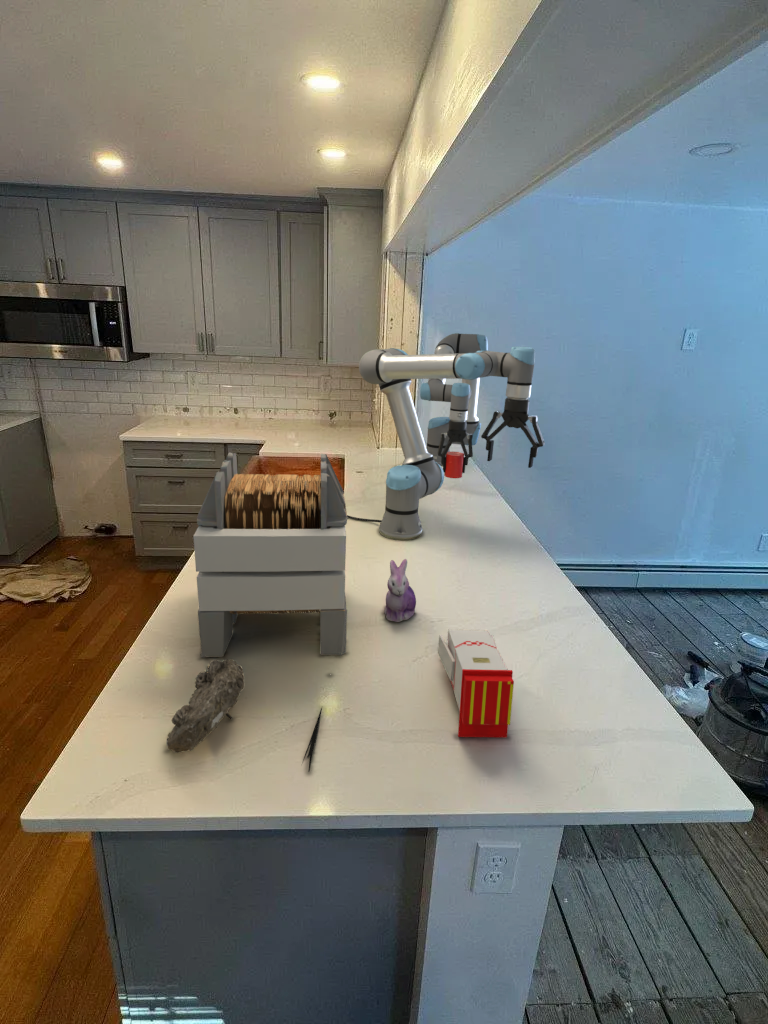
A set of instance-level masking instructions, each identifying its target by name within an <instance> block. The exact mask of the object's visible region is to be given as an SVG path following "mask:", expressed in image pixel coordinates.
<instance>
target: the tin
mask: <svg viewBox="0 0 768 1024" xmlns="http://www.w3.org/2000/svg"><path fill="white" fill-rule="evenodd" d="M464 457H465V455H464V452H460V451H450V452H447V454H446V469H445V473H444V478H445V477H446V478H448V479H461V478H463V473H462V472H463V461H464Z"/></svg>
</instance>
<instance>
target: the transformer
mask: <svg viewBox="0 0 768 1024" xmlns="http://www.w3.org/2000/svg"><path fill="white" fill-rule="evenodd" d="M347 515H348V511H347V505H346V498H345V491H344V489H343V486H342V484H341V483H340V481H339V478H338V477H337V475H336V472H335V470H334V468H333V466H332V463H331V461H330V458H329V457H328V455H327V453H320V474H313V476H312V475H311V474H303V475H302V474H300V475H299V474H279V473H278V474H275V475H274V474H273V475H272V474H271V475H270V474H269V473H268V474H267V473H266V474H263V473H256V474H255V473H251V474H249V473H246V474H244V473H238V462H237V452H234V453H233V452H227V455H226V457H225V460H223V461H222V464H221V466H220V468H219V470H218V471H216V473H215V475H214V477H213V479H212V482H211V484H210V487H209V489H208V491H207V493H206V494H205V497H204V500H203V503H202V505H201V507H200V509H199V511H198V513H197V516H196V524H197V528H196V530H195V532H194V534H193V548H194V549H193V551H194V560H195V561H194V563H195V572H196V573H197V572H198V574H197V575H196V590H197V602H198V609H197V622H198V635H199V636H198V637H199V641H200V657H201V658H204V659H205V658H206V659H208V658H210V657H211V658H223V657H224V655H225V654H226V650H227V648H228V646H229V644H230V641H231V639H232V637H233V634H234V625H235V624H236V622H237V619H238V615H240V614H241V615H242V614H245V615H248V614H249V615H252V614H253V615H254V614H255V615H256V614H288V613H289V614H301V613H302V614H305V613H306V614H309V613H311V614H312V613H313V614H314V613H317V614H318V613H319V634H320V635H319V647H320V648H319V651H320V652H319V654H320V655H321V656H324V655H327V656H330V655H336V656H342V655H344V654H346V653H347V620H348V619H347V618H348V617H347V614H348V610H347V597H346V556H347V555H346V551H347V531H346V525H347V524H348V518H347Z"/></svg>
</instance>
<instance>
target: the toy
mask: <svg viewBox="0 0 768 1024" xmlns="http://www.w3.org/2000/svg"><path fill="white" fill-rule="evenodd" d="M446 640H447V643H446V641H445V639H444V636H443V635H442V634H439V637H438V646H437V656H438V657H439V659H440V661H441V663H442V666H443V668H444V670H445V672H446V674H447V677H448V679H449V681H450V684H451V687H452V690H453V693H454V697H455V701H456V705H457V708H458V711H459V714H458V715H459V716H458V730H457V731H458V732H457V737H458V738H508V731H509V726H510V725H511V717H512V707H513V697H514V696H513V695H514V684H515V680H514V679H513V673H514V671H513V670H512V669H508V667H507V665H506V662H505V661H504V659H503V658H502V655H501V653H500V651H499V649H498V647H497V643H496V639H495V637H494V635H493V634H491V632H490V631H489V629H467V628H466V629H465V628H463V629H461V628H460V629H459V628H448V630H447V639H446Z"/></svg>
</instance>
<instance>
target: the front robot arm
mask: <svg viewBox="0 0 768 1024" xmlns="http://www.w3.org/2000/svg"><path fill="white" fill-rule="evenodd" d="M535 365H536V350H535V348H534V347H529V346H528V347H527V346H512V347H511V348H510V352H500V351H491V350H488V351H487V350H486V351H477V352H476V353H460V354H458V353H457V354H434V353H427V354H408V353H407V352H406V351H404V350H403V349H401V348H395V347H390V348H381V349H379V348H378V349H370V350H368V351H366V352H365V353H364V354H363V355H362V356H361V358H360V360H359V363H358V371H359V374H360V376H361V379H363V380H364V381H365V382H367V383H369V384H371V385H378V387H379V390H380V392H381V393H382V394H384V395H385V396H386V399H387V402H388V407H389V409H390V413H391V416H392V419H393V420H392V421H393V423H394V427H395V430H396V433H397V437H398V440H399V444H400V446H401V447H400V448H401V451H402V454H403V457H404V460H403V462H402V464H401V465H400V464H398V465H393V466H392V467H391V468H389V469H388V471H387V473H386V479H385V504H384V505H385V507H384V508H385V509H384V513H383V515H382V519H373V518H371V519H370V518H362V517H357V516H356V517H355V516H351V515H348V514H347V519H350V520H353V521H354V520H355V521H362V522H370V523H379V525H378V533H379V534H380V535H381V536H382V537H385V538H387V539H389V540H395V541H410V540H415V539H418V538H420V537H421V536H422V535H423V525H422V520H421V518H420V515H419V507H420V506H419V505H420V500H421V499H423V498H426V497H427V496H430V495H433V494H434V493H436V492H437V491H439V490H440V489H441V487H442V486H443V484H444V481H445V476H444V472H443V466H442V465H439V464H438V463H437V462H435V461H434V458H433V455H432V454H430V453H428V452H427V449H426V447H427V444H426V441H425V442H424V440H425V438H424V435H423V431H422V428H421V424H420V422H419V418H418V414H417V411H416V407H415V404H414V400H413V397H412V393H411V390H410V386H411V384H412V383H413V382H412V380H428V379H446V380H449V379H451V380H452V379H453V380H454V379H455V380H457V379H459V380H462V379H466V380H473V379H476V378H480V379H481V378H486V377H497V378H498V377H500V378H507V379H506V389H505V397H506V398H504V406H503V407H504V408H503V412H501V411H499V410H495V411H493V415H492V418H491V420H490V421H489V423H488V424H487V426H486V427H485V429H484V431H483V432H482V434H481V435H480V437H481V439H484V440H485V441H486V442H485V451H487V459H486V461H487V462H491V461H492V460H493V455H494V454H493V453H494V443H495V440H493V439H494V438H495V437H496V436H497V435H498V434H499V433H500V432H501V431H502V430H504V429H505V427H508V428H513V429H514V428H515V429H520V430H521V431H522V432H523V433H524V435H525V436H526V438H527V440H528V441H529V443H530V444H531V445H532V446H531V447H530V450H529V458H528V465H527V468H528V469H529V468H530V469H531V468H533V466H534V465H533V464H534V458H537V457H538V453H539V448H543V447H544V446H545V444H546V443H545V439H544V436H543V433H542V431H541V428H540V425H539V416H538V415H529V408H530V398H531V393H532V385H533V375H534V370H535ZM500 418H502V419H503V422H502V423H501V424H500V425H499V426H498V427H496V428H495V430H493V432H492V433H490V432H491V431H492V429H493V428H494V426H495V425H496V423H497V421H498V419H500ZM528 421H529V422H530V423H531V424H532V428H533V430H534V434H535V436H536V438H535V436H534V434H533V433H532V431H531V429H530V428H529V426H528V424H527V422H528Z"/></svg>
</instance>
